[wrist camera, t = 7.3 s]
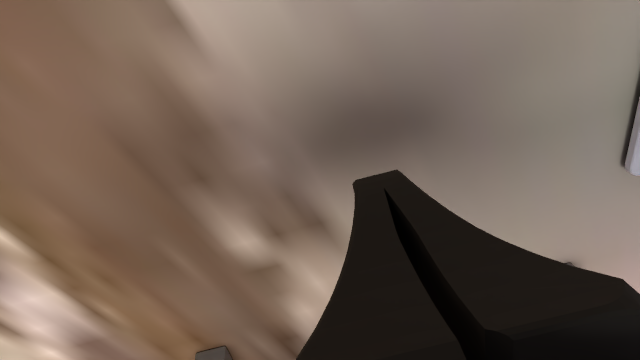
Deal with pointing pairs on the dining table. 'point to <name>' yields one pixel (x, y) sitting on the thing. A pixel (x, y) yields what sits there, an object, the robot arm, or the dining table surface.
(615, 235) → the dining table surface
